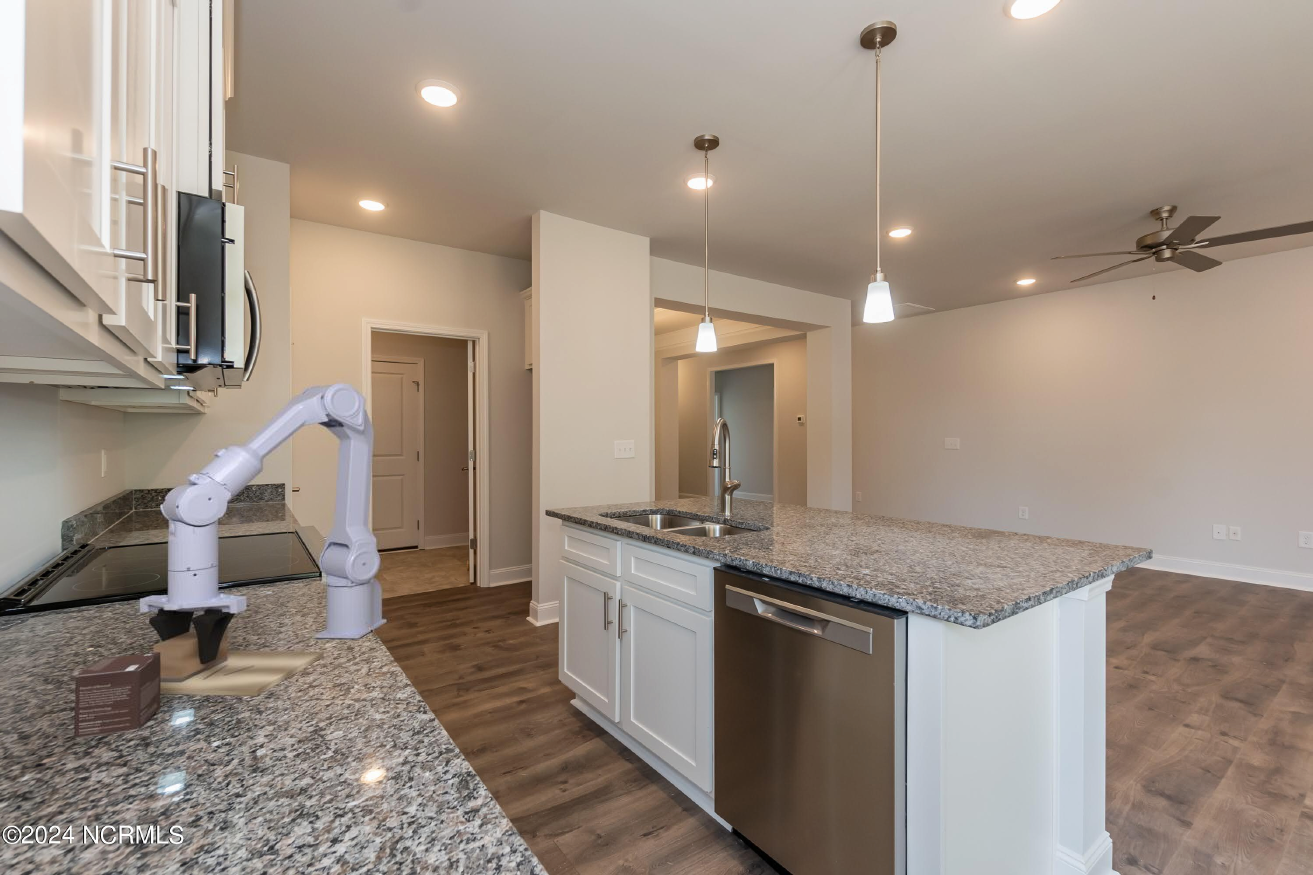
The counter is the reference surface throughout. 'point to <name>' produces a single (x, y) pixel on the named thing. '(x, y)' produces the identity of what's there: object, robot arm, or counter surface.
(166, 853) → the counter surface
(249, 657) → the board
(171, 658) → the sanding block
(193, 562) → the robot arm
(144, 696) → the box
